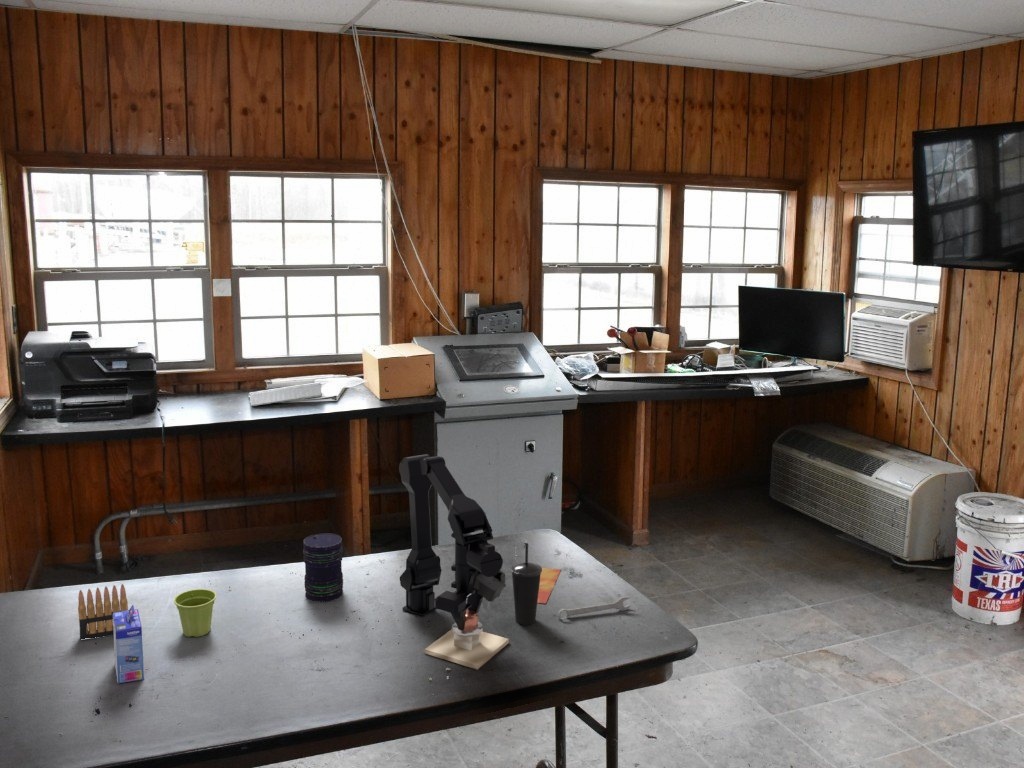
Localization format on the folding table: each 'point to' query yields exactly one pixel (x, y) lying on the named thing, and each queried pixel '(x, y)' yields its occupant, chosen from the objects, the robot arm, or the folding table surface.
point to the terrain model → (547, 583)
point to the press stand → (467, 648)
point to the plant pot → (195, 611)
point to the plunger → (469, 625)
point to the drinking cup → (526, 589)
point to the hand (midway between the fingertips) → (467, 625)
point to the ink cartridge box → (128, 646)
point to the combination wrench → (595, 608)
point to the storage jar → (323, 567)
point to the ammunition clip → (100, 612)
